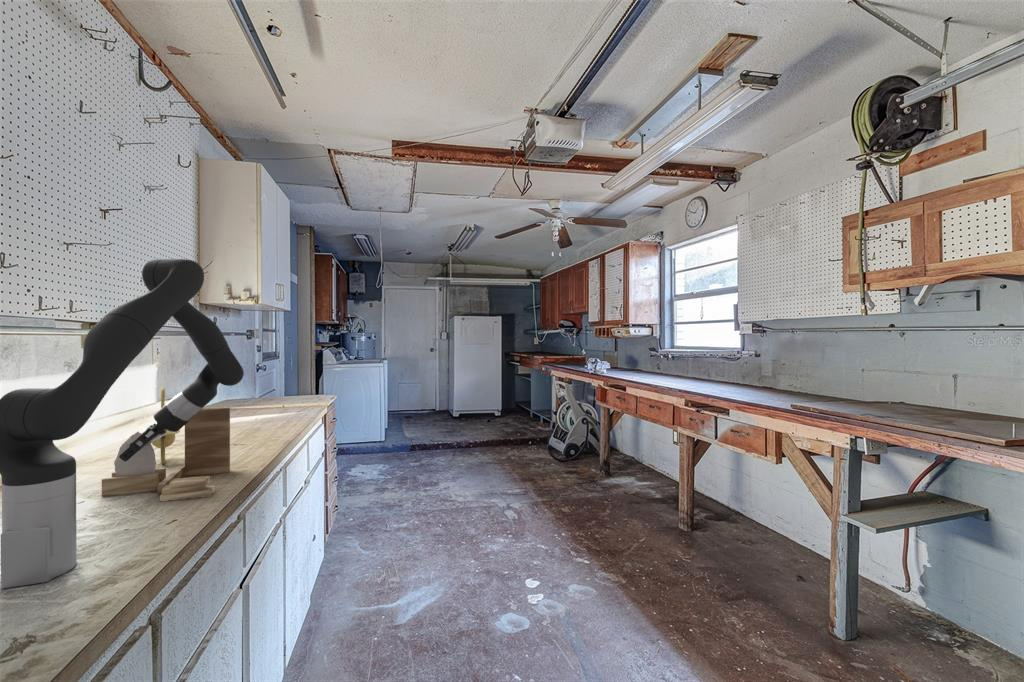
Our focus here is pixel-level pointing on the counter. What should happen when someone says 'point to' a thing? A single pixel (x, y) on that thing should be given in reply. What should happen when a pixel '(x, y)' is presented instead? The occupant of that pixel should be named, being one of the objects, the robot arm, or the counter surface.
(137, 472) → the stone tool
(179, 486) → the offcut stack
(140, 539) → the counter surface
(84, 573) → the counter surface
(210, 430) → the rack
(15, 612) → the counter surface
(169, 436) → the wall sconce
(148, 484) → the holder
